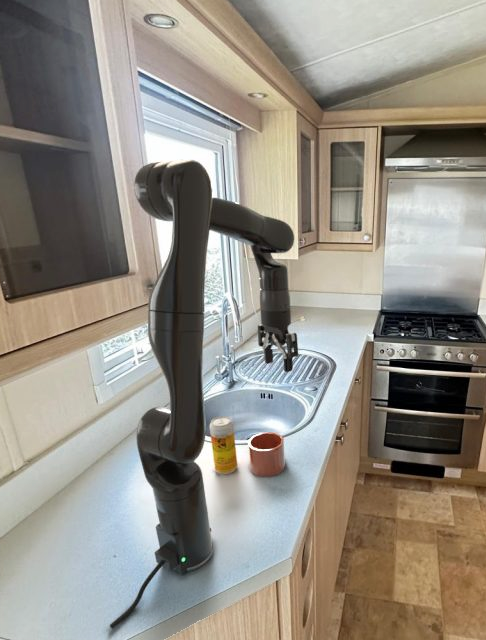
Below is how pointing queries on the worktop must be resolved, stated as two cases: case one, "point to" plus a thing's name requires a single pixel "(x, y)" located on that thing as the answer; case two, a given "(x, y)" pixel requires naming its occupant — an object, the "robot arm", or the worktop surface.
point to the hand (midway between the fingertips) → (278, 367)
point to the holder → (266, 454)
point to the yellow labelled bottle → (223, 445)
